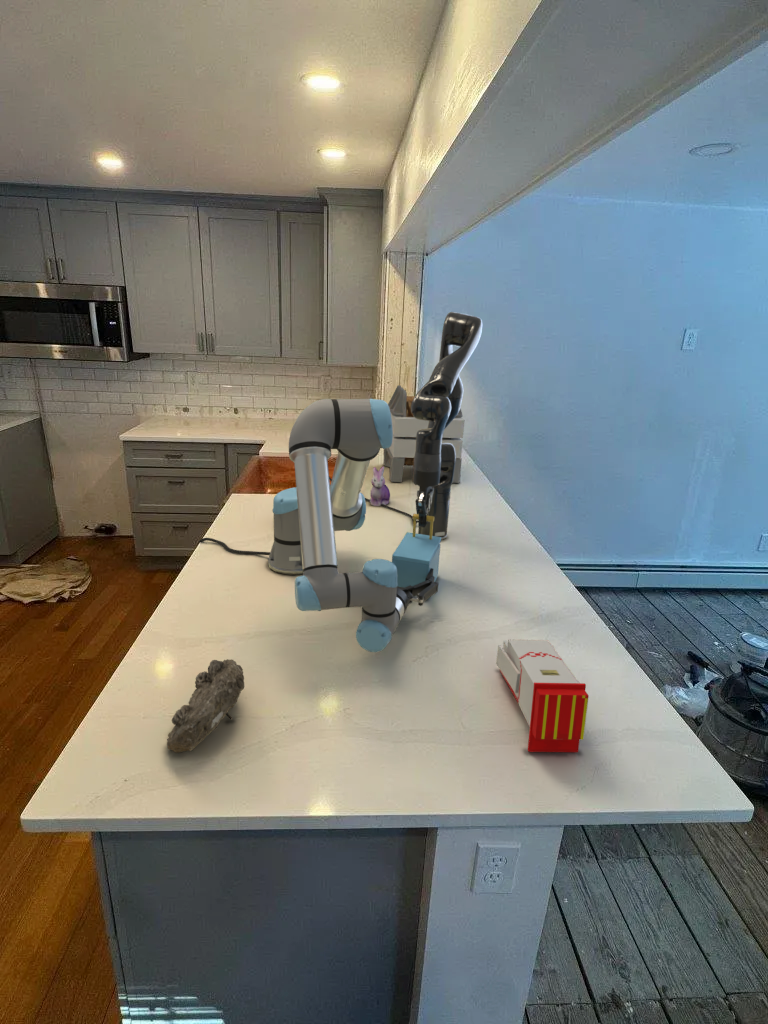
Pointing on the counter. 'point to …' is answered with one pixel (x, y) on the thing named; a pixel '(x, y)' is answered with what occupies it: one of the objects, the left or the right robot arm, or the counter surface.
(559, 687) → the toy
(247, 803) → the counter surface
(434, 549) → the lid
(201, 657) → the counter surface
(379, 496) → the figurine
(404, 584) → the chest
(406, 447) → the grey wooden crate
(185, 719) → the fossil
